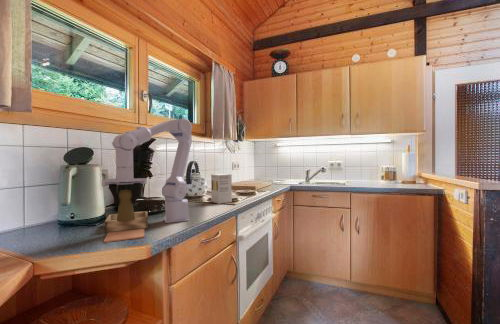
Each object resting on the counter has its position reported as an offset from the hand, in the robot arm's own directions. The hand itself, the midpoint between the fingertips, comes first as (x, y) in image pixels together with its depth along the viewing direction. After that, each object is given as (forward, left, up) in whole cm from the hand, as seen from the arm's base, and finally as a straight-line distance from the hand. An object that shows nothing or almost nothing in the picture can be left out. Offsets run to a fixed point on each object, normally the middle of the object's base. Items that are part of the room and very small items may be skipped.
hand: (125, 204), depth 92 cm
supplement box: (-49, -44, -10) cm, 67 cm away
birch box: (0, -9, -10) cm, 14 cm away
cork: (0, -1, -6) cm, 6 cm away
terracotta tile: (0, +5, -10) cm, 11 cm away
